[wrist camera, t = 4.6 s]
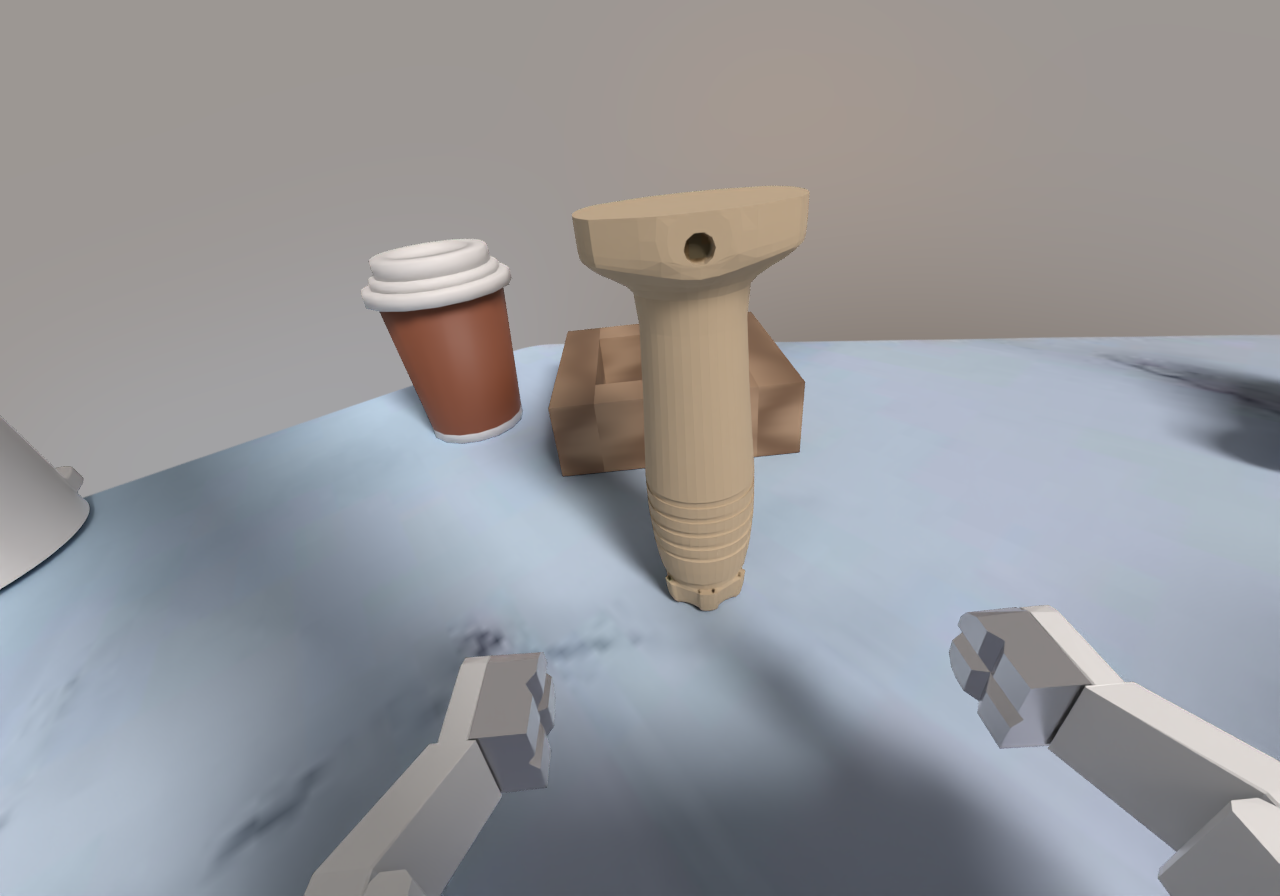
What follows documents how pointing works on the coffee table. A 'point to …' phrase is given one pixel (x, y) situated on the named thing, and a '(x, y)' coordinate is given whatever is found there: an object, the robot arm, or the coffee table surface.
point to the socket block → (613, 399)
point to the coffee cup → (451, 333)
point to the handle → (696, 360)
